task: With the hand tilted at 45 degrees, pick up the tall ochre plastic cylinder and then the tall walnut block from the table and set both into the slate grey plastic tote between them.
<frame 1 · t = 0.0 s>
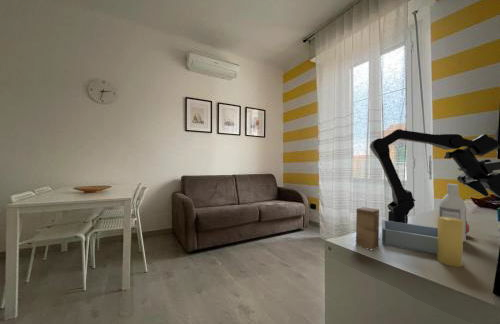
hand: (496, 197, 78), 15 cm above the table, tool tilted 35°, fingers open, 9 cm apart
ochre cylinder: (449, 262, 57), on the table
walnut block: (367, 245, 68), on the table
pomegranate: (454, 234, 82), on the table
tote: (412, 243, 70), on the table
bath foam: (451, 239, 75), on the table
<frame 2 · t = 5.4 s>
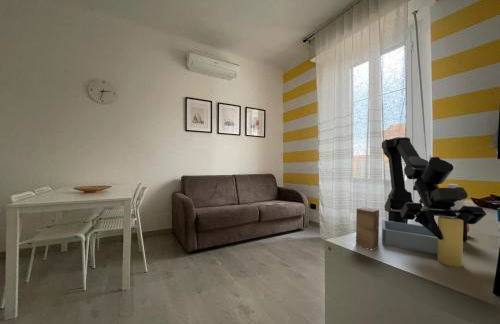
hand: (453, 240, 56), 7 cm above the table, tool tilted 45°, fingers closed on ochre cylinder, 5 cm apart
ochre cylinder: (449, 262, 57), on the table, touching gripper
everything else where it was.
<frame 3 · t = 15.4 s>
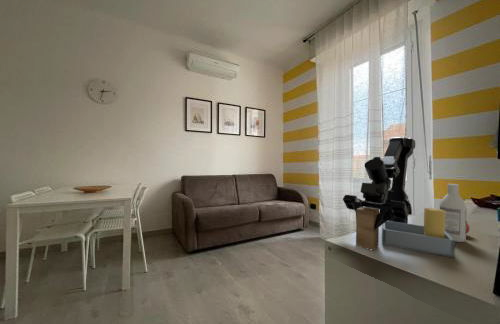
hand: (365, 226, 67), 7 cm above the table, tool tilted 45°, fingers closed on walnut block, 5 cm apart
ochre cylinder: (433, 247, 66), point 1 cm above the table, touching tote
walnut block: (367, 245, 68), on the table, touching gripper
everything else where it was.
when the fingers open (8 cm above the table, at t = 19.6 s): walnut block drops 1 cm, resting on tote.
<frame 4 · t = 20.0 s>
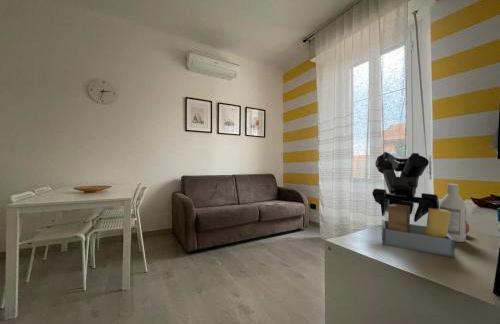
hand: (398, 218, 70), 9 cm above the table, tool tilted 45°, fingers open, 9 cm apart
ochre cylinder: (433, 246, 66), point 1 cm above the table, tilted 6°, touching gripper, tote
walnut block: (398, 240, 71), point 1 cm above the table, touching tote
everything else where it was.
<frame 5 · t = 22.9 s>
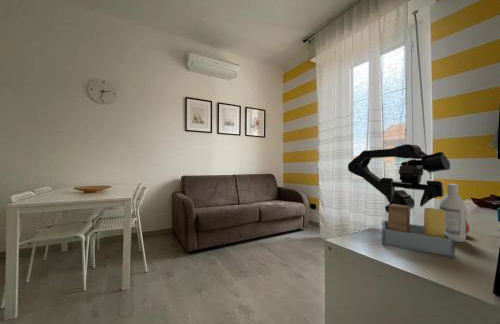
hand: (404, 203, 75), 13 cm above the table, tool tilted 45°, fingers open, 9 cm apart
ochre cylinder: (433, 247, 66), point 1 cm above the table, touching tote
everything else where it was.
at the end: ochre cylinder inside the target area on the tote (5.6 cm from its centre), point 0.6 cm above the tote's base; walnut block inside the target area on the tote (4.2 cm from its centre), point 0.6 cm above the tote's base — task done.
